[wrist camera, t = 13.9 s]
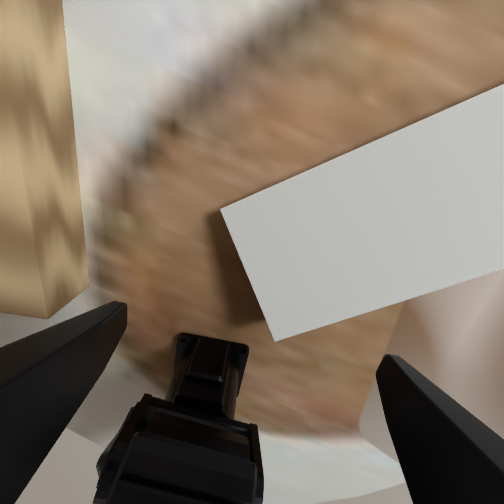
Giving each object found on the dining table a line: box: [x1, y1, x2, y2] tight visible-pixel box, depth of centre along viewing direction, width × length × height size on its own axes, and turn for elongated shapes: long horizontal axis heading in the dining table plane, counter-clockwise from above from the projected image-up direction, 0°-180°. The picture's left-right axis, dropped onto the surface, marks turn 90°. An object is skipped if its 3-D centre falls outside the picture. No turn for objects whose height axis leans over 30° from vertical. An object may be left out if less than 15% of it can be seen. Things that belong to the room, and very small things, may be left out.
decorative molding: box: [220, 84, 504, 341], centre depth 17 cm, size 34×5×10 cm
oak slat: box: [0, 0, 89, 319], centre depth 16 cm, size 26×4×5 cm, turn 171°
